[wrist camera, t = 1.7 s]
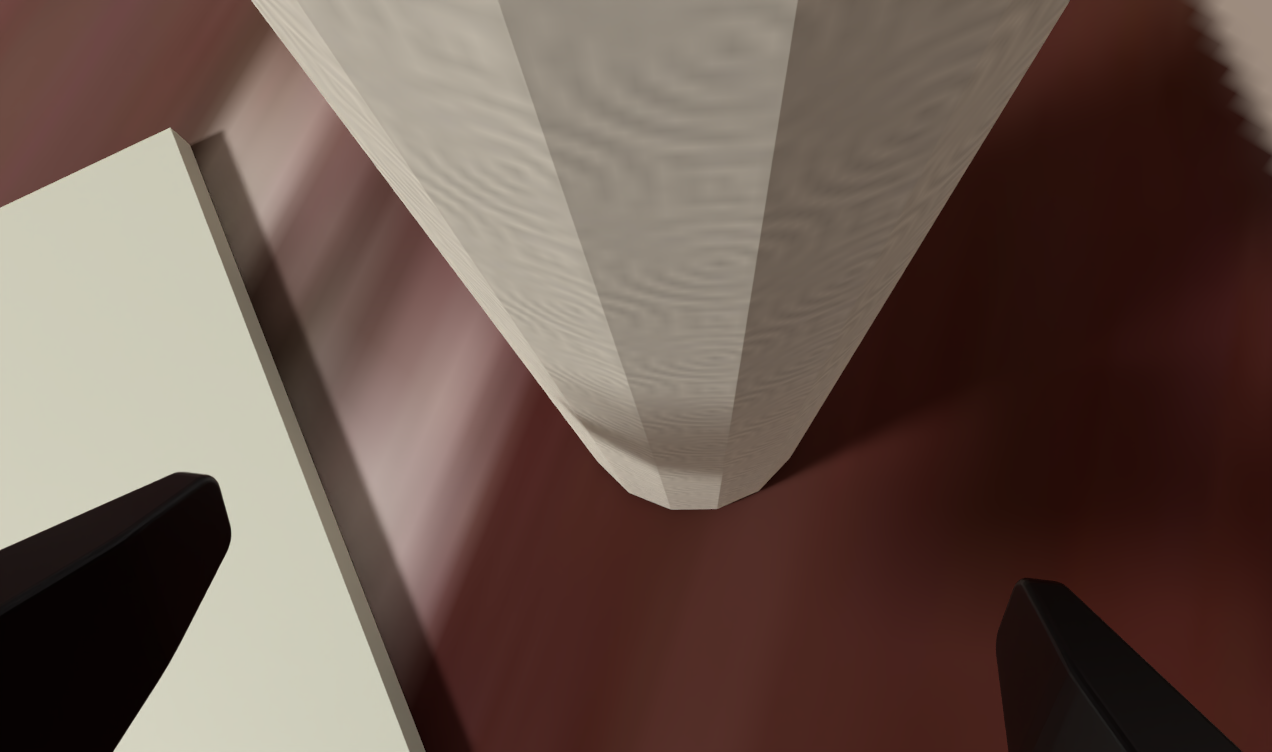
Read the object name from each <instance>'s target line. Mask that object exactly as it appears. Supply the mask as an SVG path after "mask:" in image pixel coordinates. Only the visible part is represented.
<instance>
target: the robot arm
mask: <svg viewBox="0 0 1272 752" xmlns="http://www.w3.org/2000/svg"><path fill="white" fill-rule="evenodd" d="M230 542H231V525H230V522H229V518H228V514H227V511H226V507H225V504H224V500H223V496H222V493H221V489H220V486H219V483H218V482H217V480H216V479H215V478H214V477H212V476H210V475H207V474H199V473H191V472H175V473H173V474H170V475H168V476H166V477H163V478H161V479H159V480H157V481H154V482H152V483H150V484H148V485H145V486H143V487H141V488H139V489H136V490H134V491H132V492H130V493H127V494H125V495H123V496H121V497H118V498H116V499H114V500H112V501H109V502H107V503H105V504H103V505H100V506H98V507H96V508H93V509H91V510H89V511H87V512H84V513H82V514H80V515H78V516H75V517H73V518H71V519H69V520H66V521H64V522H62V523H60V524H57V525H55V526H53V527H51V528H48V529H46V530H44V531H42V532H39V533H37V534H35V535H33V536H30V537H28V538H26V539H24V540H21V541H19V542H17V543H15V544H12V545H10V546H8V547H5V548H3V549H1V550H0V752H114V750H115V748H116V747H117V745H118V744H119V742H120V741H121V739H122V738H123V736H124V734H125V733H126V731H127V730H128V728H129V727H130V725H131V724H132V722H133V720H134V719H135V717H136V716H137V714H138V713H139V711H140V710H141V708H142V706H143V705H144V703H145V702H146V700H147V699H148V697H149V696H150V694H151V693H152V691H153V689H154V688H155V686H156V685H157V683H158V682H159V680H160V678H161V677H162V675H163V673H164V672H165V670H166V668H167V667H168V665H169V663H170V662H171V660H172V658H173V656H174V654H175V653H176V651H177V649H178V647H179V645H180V643H181V641H182V639H183V637H184V636H185V634H186V632H187V630H188V628H189V626H190V624H191V622H192V620H193V618H194V616H195V614H196V612H197V610H198V608H199V606H200V604H201V602H202V600H203V598H204V596H205V594H206V592H207V590H208V588H209V587H210V585H211V583H212V581H213V579H214V577H215V575H216V573H217V571H218V569H219V567H220V565H221V563H222V561H223V559H224V557H225V555H226V553H227V551H228V549H229V546H230ZM996 657H997V664H998V672H999V680H1000V688H1001V696H1002V704H1003V712H1004V720H1005V728H1006V735H1007V743H1008V751H1009V752H1242V751H1241V750H1240V749H1239V748H1238V747H1237V746H1236V745H1235V744H1234V743H1233V742H1232V741H1230V740H1229V739H1228V738H1227V737H1226V736H1225V735H1224V734H1223V733H1222V732H1221V731H1220V730H1219V729H1218V728H1217V727H1216V726H1215V725H1213V724H1212V723H1211V722H1210V721H1209V720H1208V719H1207V718H1206V717H1205V716H1204V715H1203V714H1202V713H1201V712H1200V711H1199V710H1197V709H1196V708H1195V707H1194V706H1193V705H1192V704H1191V703H1190V702H1189V701H1188V700H1187V699H1186V698H1185V697H1184V696H1183V695H1182V694H1180V693H1179V692H1178V691H1177V690H1176V689H1175V688H1174V687H1173V686H1172V685H1171V684H1170V683H1169V682H1168V681H1167V680H1166V679H1164V678H1163V677H1162V676H1161V675H1160V674H1159V673H1158V672H1157V671H1156V670H1155V669H1154V668H1153V667H1152V666H1151V665H1150V664H1149V663H1147V662H1146V661H1145V660H1144V659H1143V658H1142V657H1141V656H1140V655H1139V654H1138V653H1137V652H1136V651H1135V650H1134V649H1133V648H1131V647H1130V646H1129V645H1128V644H1127V643H1126V642H1125V641H1124V640H1123V639H1122V638H1121V637H1120V636H1119V635H1118V634H1117V633H1116V632H1114V631H1113V630H1112V629H1111V628H1110V627H1109V626H1108V625H1107V624H1106V623H1105V622H1104V621H1103V620H1102V619H1101V618H1100V617H1099V616H1097V615H1096V614H1095V613H1094V612H1093V611H1092V610H1091V609H1090V608H1089V607H1088V606H1087V605H1086V604H1085V603H1084V602H1083V601H1081V600H1080V599H1079V598H1078V597H1077V596H1076V595H1075V594H1074V593H1073V592H1072V591H1071V590H1070V589H1069V588H1067V587H1066V586H1065V585H1064V584H1062V583H1059V582H1056V581H1049V580H1041V579H1033V578H1023V579H1021V580H1019V581H1018V582H1017V583H1016V585H1015V587H1014V589H1013V592H1012V594H1011V597H1010V600H1009V603H1008V605H1007V608H1006V611H1005V613H1004V616H1003V619H1002V622H1001V624H1000V627H999V630H998V633H997V639H996Z"/></svg>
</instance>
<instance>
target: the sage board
mask: <svg viewBox="0 0 1272 752" xmlns="http://www.w3.org/2000/svg"><path fill="white" fill-rule="evenodd" d="M175 472H191V473H199V474H207V475H210V476H212V477H214V478H215V479H216V480H217V482H218V483H219V486H220V489H221V493H222V496H223V500H224V504H225V507H226V511H227V514H228V518H229V522H230V525H231V542H230V546H229V549H228V551H227V553H226V555H225V557H224V559H223V561H222V563H221V565H220V567H219V569H218V571H217V573H216V575H215V577H214V579H213V581H212V583H211V585H210V587H209V588H208V590H207V592H206V594H205V596H204V598H203V600H202V602H201V604H200V606H199V608H198V610H197V612H196V614H195V616H194V618H193V620H192V622H191V624H190V626H189V628H188V630H187V632H186V634H185V636H184V637H183V639H182V641H181V643H180V645H179V647H178V649H177V651H176V653H175V654H174V656H173V658H172V660H171V662H170V663H169V665H168V667H167V668H166V670H165V672H164V673H163V675H162V677H161V678H160V680H159V682H158V683H157V685H156V686H155V688H154V689H153V691H152V693H151V694H150V696H149V697H148V699H147V700H146V702H145V703H144V705H143V706H142V708H141V710H140V711H139V713H138V714H137V716H136V717H135V719H134V720H133V722H132V724H131V725H130V727H129V728H128V730H127V731H126V733H125V734H124V736H123V738H122V739H121V741H120V742H119V744H118V745H117V747H116V748H115V750H114V752H426V751H425V749H424V746H423V744H422V741H421V739H420V736H419V733H418V731H417V728H416V726H415V723H414V720H413V718H412V715H411V713H410V710H409V708H408V705H407V702H406V700H405V697H404V695H403V692H402V690H401V687H400V684H399V682H398V679H397V677H396V674H395V672H394V669H393V666H392V664H391V661H390V659H389V656H388V654H387V651H386V648H385V646H384V643H383V641H382V638H381V636H380V633H379V630H378V628H377V625H376V623H375V620H374V618H373V615H372V612H371V610H370V607H369V605H368V602H367V599H366V597H365V594H364V592H363V589H362V587H361V584H360V581H359V579H358V576H357V574H356V571H355V569H354V566H353V563H352V561H351V558H350V556H349V553H348V551H347V548H346V545H345V543H344V540H343V538H342V535H341V533H340V530H339V527H338V525H337V522H336V520H335V517H334V515H333V512H332V509H331V507H330V504H329V502H328V499H327V497H326V494H325V491H324V489H323V486H322V484H321V481H320V478H319V476H318V473H317V471H316V468H315V466H314V463H313V460H312V458H311V455H310V453H309V450H308V448H307V445H306V442H305V440H304V437H303V435H302V432H301V430H300V427H299V424H298V422H297V419H296V417H295V414H294V412H293V409H292V406H291V404H290V401H289V399H288V396H287V394H286V391H285V388H284V386H283V383H282V381H281V378H280V375H279V373H278V370H277V368H276V365H275V363H274V360H273V357H272V355H271V352H270V350H269V347H268V345H267V342H266V339H265V337H264V334H263V332H262V329H261V327H260V324H259V321H258V319H257V316H256V314H255V311H254V309H253V306H252V303H251V301H250V298H249V296H248V293H247V291H246V288H245V285H244V283H243V280H242V278H241V275H240V273H239V270H238V267H237V265H236V262H235V260H234V257H233V254H232V252H231V249H230V247H229V244H228V242H227V239H226V236H225V234H224V231H223V229H222V226H221V224H220V221H219V218H218V216H217V213H216V211H215V208H214V206H213V203H212V200H211V198H210V195H209V193H208V190H207V188H206V185H205V182H204V180H203V177H202V175H201V172H200V170H199V167H198V164H197V162H196V159H195V157H194V154H193V152H192V149H191V146H190V145H189V144H188V143H187V142H186V141H185V140H184V139H183V138H182V137H180V136H179V135H178V134H177V133H176V132H175V131H174V130H173V129H171V128H168V129H166V130H164V131H162V132H160V133H158V134H156V135H154V136H151V137H149V138H147V139H145V140H143V141H141V142H139V143H137V144H134V145H132V146H130V147H128V148H126V149H124V150H122V151H120V152H118V153H115V154H113V155H111V156H109V157H107V158H105V159H103V160H101V161H98V162H96V163H94V164H92V165H90V166H88V167H86V168H84V169H82V170H79V171H77V172H75V173H73V174H71V175H69V176H67V177H65V178H63V179H60V180H58V181H56V182H54V183H52V184H50V185H48V186H46V187H43V188H41V189H39V190H37V191H35V192H33V193H31V194H29V195H27V196H24V197H22V198H20V199H18V200H16V201H14V202H12V203H10V204H7V205H5V206H3V207H1V208H0V550H1V549H3V548H5V547H8V546H10V545H12V544H15V543H17V542H19V541H21V540H24V539H26V538H28V537H30V536H33V535H35V534H37V533H39V532H42V531H44V530H46V529H48V528H51V527H53V526H55V525H57V524H60V523H62V522H64V521H66V520H69V519H71V518H73V517H75V516H78V515H80V514H82V513H84V512H87V511H89V510H91V509H93V508H96V507H98V506H100V505H103V504H105V503H107V502H109V501H112V500H114V499H116V498H118V497H121V496H123V495H125V494H127V493H130V492H132V491H134V490H136V489H139V488H141V487H143V486H145V485H148V484H150V483H152V482H154V481H157V480H159V479H161V478H163V477H166V476H168V475H170V474H173V473H175Z"/></svg>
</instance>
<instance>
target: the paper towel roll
mask: <svg viewBox="0 0 1272 752" xmlns="http://www.w3.org/2000/svg"><path fill="white" fill-rule="evenodd" d="M251 1H252V2H253V3H254V5H255V6H256V7H257V9H258V10H259V11H260V13H261V14H262V15H263V17H264V18H265V19H266V21H267V22H268V23H269V25H270V26H271V27H272V29H273V30H274V31H275V33H276V34H277V35H278V37H279V38H280V39H281V41H282V42H283V43H284V45H285V46H286V47H287V49H288V50H289V51H290V53H291V54H292V55H293V57H294V58H295V59H296V61H297V62H298V63H299V65H300V66H301V67H302V69H303V70H304V71H305V73H306V74H307V75H308V77H309V78H310V79H311V81H312V82H313V83H314V85H315V86H316V87H317V89H318V90H319V91H320V92H321V94H322V95H323V96H324V98H325V99H326V100H327V102H328V103H329V104H330V106H331V107H332V108H333V110H334V111H335V112H336V114H337V115H338V116H339V118H340V119H341V120H342V122H343V123H344V124H345V126H346V127H347V128H348V130H349V131H350V132H351V134H352V135H353V136H354V138H355V139H356V140H357V142H358V143H359V144H360V146H361V147H362V148H363V150H364V151H365V152H366V154H367V155H368V156H369V158H370V159H371V160H372V162H373V163H374V164H375V166H376V167H377V168H378V170H379V171H380V172H381V174H382V175H383V176H384V178H385V179H386V180H387V182H388V183H389V184H390V186H391V187H392V188H393V190H394V191H395V192H396V194H397V195H398V196H399V198H400V199H401V200H402V202H403V203H404V204H405V206H406V207H407V208H408V210H409V211H410V212H411V214H412V215H413V216H414V218H415V219H416V220H417V222H418V223H419V224H420V226H421V227H422V228H423V230H424V231H425V232H426V234H427V235H428V236H429V238H430V239H431V240H432V242H433V243H434V244H435V246H436V247H437V248H438V250H439V251H440V252H441V254H442V255H443V256H444V258H445V259H446V260H447V262H448V263H449V264H450V266H451V267H452V268H453V270H454V271H455V272H456V274H457V275H458V276H459V278H460V279H461V280H462V282H463V283H464V284H465V286H466V287H467V288H468V290H469V291H470V292H471V294H472V295H473V296H474V298H475V299H476V300H477V302H478V303H479V304H480V306H481V307H482V308H483V310H484V311H485V312H486V314H487V315H488V316H489V318H490V319H491V320H492V322H493V323H494V324H495V326H496V327H497V328H498V330H499V331H500V332H501V334H502V335H503V336H504V338H505V339H506V340H507V342H508V343H509V344H510V346H511V347H512V348H513V350H514V351H515V352H516V354H517V355H518V356H519V358H520V359H521V360H522V362H523V363H524V364H525V366H526V367H527V368H528V370H529V371H530V372H531V374H532V375H533V376H534V378H535V379H536V380H537V382H538V383H539V384H540V386H541V387H542V388H543V390H544V391H545V392H546V394H547V395H548V396H549V398H550V399H551V400H552V402H553V403H554V404H555V406H556V407H557V408H558V410H559V411H560V412H561V414H562V415H563V416H564V418H565V419H566V420H567V422H568V423H569V424H570V426H571V427H572V428H573V430H574V431H575V432H576V434H577V435H578V436H579V438H580V439H581V440H582V441H583V443H584V444H585V445H586V447H587V448H588V449H589V451H590V452H591V453H592V455H593V456H594V457H595V459H596V460H597V461H598V463H600V464H601V465H602V466H603V467H604V468H605V469H606V470H607V471H608V472H609V473H610V474H611V475H612V476H613V477H614V478H615V479H616V480H617V481H618V482H619V483H620V484H621V485H622V486H623V487H624V488H625V489H626V490H627V491H628V492H629V493H631V494H633V495H636V496H638V497H641V498H643V499H646V500H648V501H651V502H653V503H656V504H658V505H661V506H663V507H666V508H668V509H671V510H680V509H718V508H720V507H723V506H725V505H727V504H730V503H732V502H734V501H737V500H739V499H741V498H743V497H746V496H748V495H750V494H753V493H755V492H757V491H759V490H760V489H761V488H762V487H763V486H764V485H765V484H766V483H767V482H768V481H769V480H770V479H771V477H772V476H773V475H774V474H775V473H776V472H777V471H778V470H779V469H780V468H781V467H782V466H783V465H784V464H785V463H786V462H787V461H788V460H789V458H790V457H791V455H792V454H793V452H794V450H795V449H796V447H797V446H798V444H799V442H800V441H801V439H802V437H803V436H804V434H805V433H806V431H807V429H808V428H809V426H810V424H811V423H812V421H813V419H814V418H815V416H816V415H817V413H818V411H819V410H820V408H821V406H822V405H823V403H824V401H825V400H826V398H827V397H828V395H829V393H830V392H831V390H832V388H833V387H834V385H835V383H836V382H837V380H838V379H839V377H840V375H841V374H842V372H843V370H844V369H845V367H846V365H847V364H848V362H849V361H850V359H851V357H852V356H853V354H854V352H855V351H856V349H857V347H858V346H859V344H860V343H861V341H862V339H863V338H864V336H865V334H866V333H867V331H868V330H869V328H870V326H871V325H872V323H873V321H874V320H875V318H876V316H877V315H878V313H879V312H880V310H881V308H882V307H883V305H884V303H885V302H886V300H887V298H888V297H889V295H890V294H891V292H892V290H893V289H894V287H895V285H896V284H897V282H898V280H899V279H900V277H901V276H902V274H903V272H904V271H905V269H906V267H907V266H908V264H909V262H910V261H911V259H912V258H913V256H914V254H915V253H916V251H917V249H918V248H919V246H920V245H921V243H922V241H923V240H924V238H925V236H926V235H927V233H928V231H929V230H930V228H931V227H932V225H933V223H934V222H935V220H936V218H937V217H938V215H939V213H940V212H941V210H942V209H943V207H944V205H945V204H946V202H947V200H948V199H949V197H950V195H951V194H952V192H953V191H954V189H955V187H956V186H957V184H958V182H959V181H960V179H961V177H962V176H963V174H964V173H965V171H966V169H967V168H968V166H969V164H970V163H971V161H972V159H973V158H974V156H975V155H976V153H977V151H978V150H979V148H980V146H981V145H982V143H983V142H984V140H985V138H986V137H987V135H988V133H989V132H990V130H991V128H992V127H993V125H994V124H995V122H996V120H997V119H998V117H999V115H1000V114H1001V112H1002V110H1003V109H1004V107H1005V106H1006V104H1007V102H1008V101H1009V99H1010V97H1011V96H1012V94H1013V92H1014V91H1015V89H1016V88H1017V86H1018V84H1019V83H1020V81H1021V79H1022V78H1023V76H1024V74H1025V73H1026V71H1027V70H1028V68H1029V66H1030V65H1031V63H1032V61H1033V60H1034V58H1035V57H1036V55H1037V53H1038V52H1039V50H1040V48H1041V47H1042V45H1043V43H1044V42H1045V40H1046V39H1047V37H1048V35H1049V34H1050V32H1051V30H1052V29H1053V27H1054V25H1055V24H1056V22H1057V21H1058V19H1059V17H1060V16H1061V14H1062V12H1063V11H1064V9H1065V7H1066V6H1067V4H1068V3H1069V1H1070V0H251Z"/></svg>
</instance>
